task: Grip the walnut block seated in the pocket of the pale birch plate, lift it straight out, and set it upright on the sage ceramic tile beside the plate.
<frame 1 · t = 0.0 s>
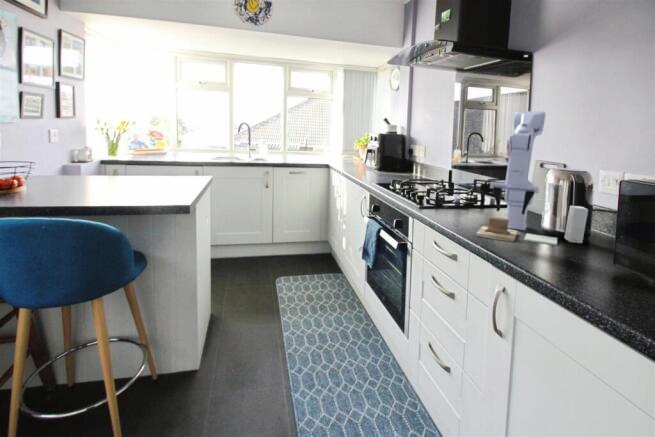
hand: (510, 212, 146), 10 cm above the countertop, fingers open, 7 cm apart
sage tile: (540, 239, 154), on the countertop
pocket plate: (497, 235, 157), on the countertop
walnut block: (498, 227, 157), in the pocket plate
skincare box: (572, 241, 155), on the countertop
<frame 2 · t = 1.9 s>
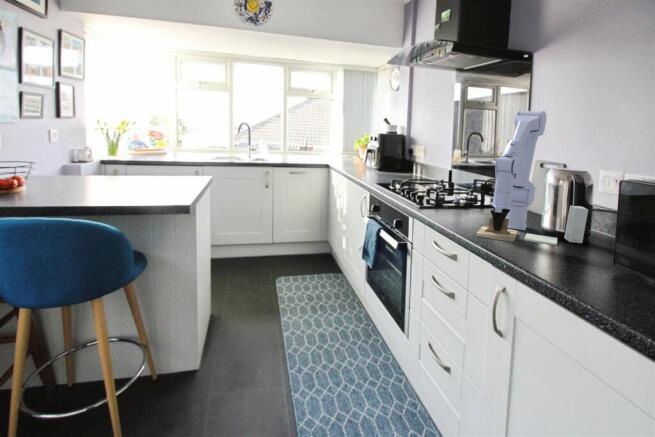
hand: (497, 229, 157), 2 cm above the countertop, fingers closed on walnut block, 4 cm apart
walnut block: (498, 226, 157), in the pocket plate, touching gripper
everything else where it was.
when the fingers open (4 cm above the countertop, at t = 6.8 s): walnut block stays where it is, resting on sage tile.
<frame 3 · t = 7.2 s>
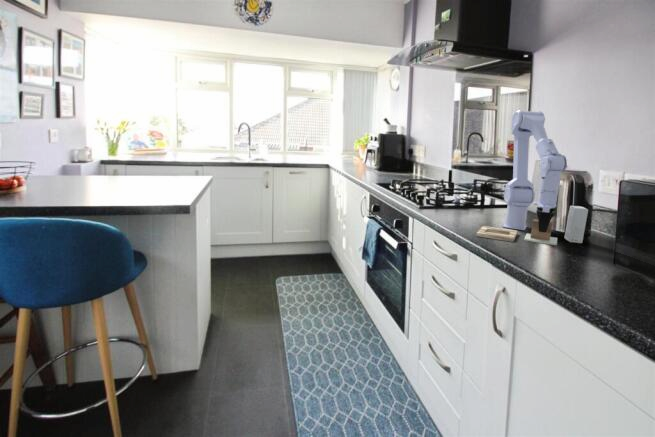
hand: (542, 229, 153), 4 cm above the countertop, fingers open, 7 cm apart
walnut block: (541, 229, 153), on the sage tile, point 4 cm above the countertop
everything else where it was.
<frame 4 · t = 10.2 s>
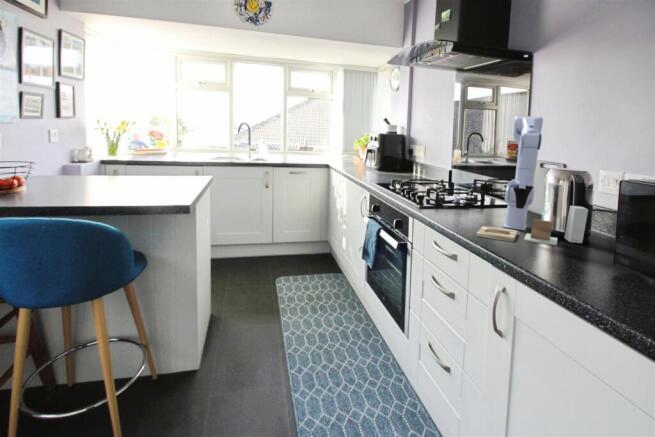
hand: (520, 207, 156), 10 cm above the countertop, fingers open, 7 cm apart
nothing on the countertop moved.
at the end: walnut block 0.4 cm off-centre on the sage tile, point 3.6 cm above the sage tile's base; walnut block tilted 0°; the gripper is holding nothing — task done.
